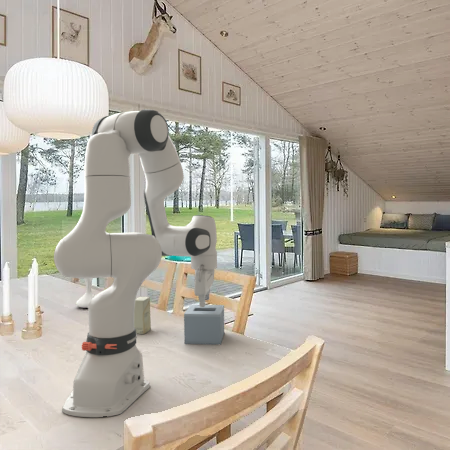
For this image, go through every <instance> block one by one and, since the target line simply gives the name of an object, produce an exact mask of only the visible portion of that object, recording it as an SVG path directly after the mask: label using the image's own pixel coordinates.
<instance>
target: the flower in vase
mask: <svg viewBox="0 0 450 450" xmlns="http://www.w3.org/2000/svg"><path fill="white" fill-rule="evenodd" d="M93 279H94V278H88V279H83V280H84V282H85V293H84V294H83V295H82V296H81V297H79V299H78V300H76V302H75V306H76V307H78V308H81V309H82V308H84V309H86V308H87V309H88V306H89V303H90V301H91V299H92V298H93V297H94V296H95V295H96V294H94V293H93V291H92V284H93V283H92V282H93Z"/></svg>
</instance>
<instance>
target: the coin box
mask: <svg viewBox="0 0 450 450" xmlns="http://www.w3.org/2000/svg"><path fill="white" fill-rule="evenodd" d="M183 323H184V324H183V329H184V331H183V334H184V336H183V337H184V338H183V339H184V345H216V344H217V345H219V344H220V345H222V341H223V339H224V336H225V305H224V304H205V307H200V304H190V305H189V306H188V308H187V309H186V311H185V312H184V313H183ZM220 345H219V346H220Z"/></svg>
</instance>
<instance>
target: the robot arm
mask: <svg viewBox="0 0 450 450" xmlns="http://www.w3.org/2000/svg"><path fill="white" fill-rule="evenodd" d="M169 133H170V130H169V125H168V122H167V120H166V118H165V117H164V116H163V115H162V114H161V112H159V111H158V110H156V109H141V110H134V111H133V110H132V111H123V112H118V113H115V114H114V113H113V114H112V115H105V116H104V117H101V118H100V119H98V120H97V121H96V122H95V123H94V125H93V127H92V130H91V136H90V137H89V138H88V140H87V144H86V149H85V156H84V164H83V165H84V169H83V171H84V174H83V178H84V180H83V181H84V196H83V197H84V198H83V208H82V212H81V215H80V217H79V219H78V222H77V224H76V225H75V226H74V228H72V230H70V232H68V233H67V235H65V236H64V237H62V239H60V241H58V243H57V245H56V247H55V249H54V253H53V261H54V265H55V268H56V270H57V271H58V272H59V274H61V276H62V277H65V278H71V279H82V280H84V279H88V278H93V279H97V278H100V279H101V278H112V279H113V281H112V283H111V285H110V286H109V287H107V288H106V289H104V290H102V291H100V292H99V293H97V294H94V295H95V296H94V297H93V298H92V299H91V301H90V303H89V306H88V308H87V311H88V312H87V313H88V314H87V315H88V332H87V335H86V336H87V337H86V340H85V341H83V342H82V343H81V350H82V351H85V353H84V356H83V358H82V360H81V363H80V364H79V368H78V370H77V373H76V375H75V377H74V380H73V385H72V387H73V388H72V391H71V392H70V393H69V395H68V397H67V398H66V400H65V402H64V403H63V406H62V409H61V412H62V413H63V414H66V415H69V416H73V417H81V418H83V417H84V418H103V416H107V417H112V416H117V415H120V414H122V413H123V412H125V411H126V410H127V408H129V407H130V406H131V405H132V404H133V403H134V402H135V401H137V399H138V398H139V397H140V396H141V395H143V393H145V391H147V390H148V389H149V388H150V387H151V383H150V381H149V380H147V379H145V373H144V372H145V371H144V361H143V353H142V352H141V351H140V350H139V349H138V347H137V337H138V336H137V334H136V329H135V328H134V309H135V299H136V298H137V294H138V292H139V290H140V288H141V286H142V284H143V282H144V281H145V280H147V278H148V277H149V275H151V274H152V273H154V272H155V270H156V269H158V267H159V265H160V264H161V261H162V257H169V256H170V257H171V256H176V257H190V265H191V266H190V268H191V269H192V270H194V286H193V287H194V288H193V289H194V295H195V296H197V297H198V302H199V304H198V305H200V307H205V305H206V301H209V300H210V294H211V287H212V286H213V284H214V281H215V270H216V269H217V268H218V252H217V249H216V248H217V247H216V246H217V244H218V243H217V241H218V235H217V225H216V224H217V223H216V220H215V218H213V217H212V216H209V215H203V214H201V215H200V214H196V215H193V216H192V218H191V221H190V222H189V223H188V224H186V225H184V226H182V225H181V226H177V225H176V226H175V225H171V224H170V223H169V221H168V218H167V212H166V208H165V207H166V206H165V199H166V198H167V197H168V196H170V195H172V194H174V193H175V192H176V191H177V190H179V189H180V187H181V186H182V184H183V180H184V178H185V177H184V176H185V175H184V169H183V165H182V162H181V160H180V157H179V154H178V152H177V149H176V146H175V144H174V143H173V141H172V139H171V137H170V135H169ZM130 155H132V156H133V155H138V156H139V161H140V163H141V167H142V170H143V173H144V177H145V183H146V184H145V185H144V187H143V198H144V199H143V200H144V203H145V209H146V212H147V218H148V221H149V228H150V231H151V234H150V233H149V234H148V233H143V232H137V231H135V232H107V231H106V229H107V226H108V225H109V224H110V223H111V222H113V221H115V220H117V219H119V218H121V217H122V216H124V215H126V214H127V213H128V212H129V210H130V209H131V206H132V191H131V190H132V189H131V185H132V183H131V169H130V168H131V167H130V160H129V159H130Z"/></svg>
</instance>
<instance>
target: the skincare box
mask: <svg viewBox="0 0 450 450" xmlns="http://www.w3.org/2000/svg"><path fill="white" fill-rule="evenodd" d="M151 320H152V319H151V297H150V296H138V297H136V299H135V309H134V328H135V329H136V334H138V335H145V334H147V332H149V331H150V330H151V328H152V324H151Z"/></svg>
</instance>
